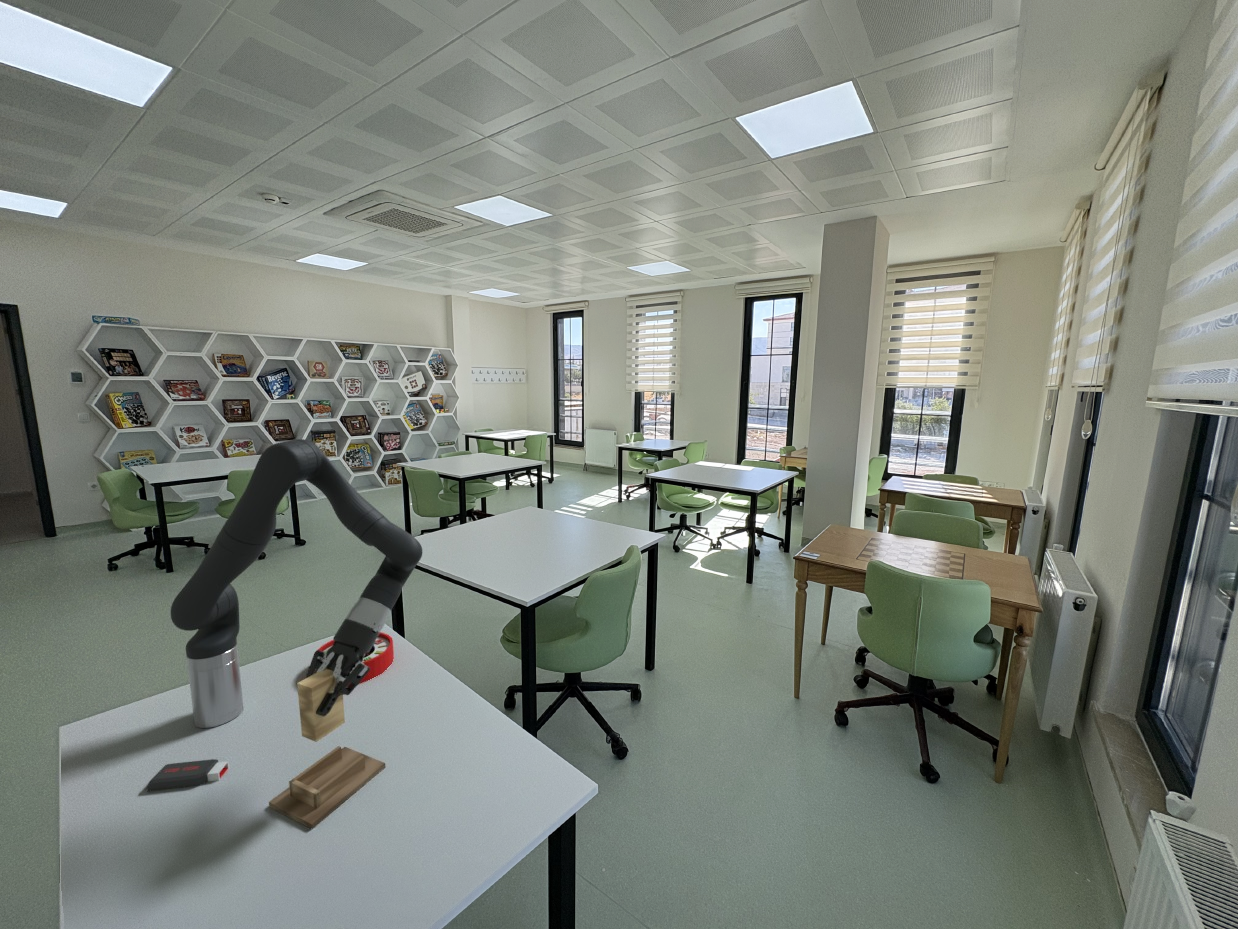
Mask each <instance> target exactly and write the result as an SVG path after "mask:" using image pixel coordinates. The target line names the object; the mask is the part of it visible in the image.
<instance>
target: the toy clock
mask: <svg viewBox="0 0 1238 929" xmlns="http://www.w3.org/2000/svg"><path fill="white" fill-rule="evenodd" d="M333 644H334V640H333V639H332V640H330V641H328V642H326V643H324V644H322V645H321V646H320V647H319V648H318V649H317V650H320V651H322V652H324V651H328V649H329V648H331V647H332V646H333ZM394 653H395V652H394V639H393V637H392V636H391V635H389V634H387V633H385V632H380V633H379V635H378V637H377V639H376V641H375V642H374V644H373V646H372V648H371V649H370V651H369V652H368V653H365V654H364V657H363V661H362V662H363V663H364V665H366V666H368V667H370V671H369V672H368V673H367V674H366V676H365V677H364V678H363V679H362V680H361V681H360V683H359V684H358V685H360V684H363V683H365V682H369V681H371V680H373V679H372V678H374V677H376V676H377V677H379V676H381V675H383V674H384V673H385V672H386V671H385V670H387V668H388V667H389V666H390V665H391V664H392V662H393V663H394V661H393V659H395V656H394ZM392 665H393V664H392ZM392 665H391V666H392ZM384 671H385V672H384ZM387 671H388V670H387ZM315 672H316V671H314V673H315ZM383 672H384V673H383ZM382 673H383V674H382ZM380 674H381V675H380ZM378 675H379V676H378ZM377 677H376V678H377ZM370 679H371V680H370ZM374 679H375V678H374ZM368 680H369V681H368ZM351 683H352V682H351ZM351 683H350V684H351ZM350 684H349V685H350ZM349 685H348V686H349ZM348 686H347V687H348Z"/></svg>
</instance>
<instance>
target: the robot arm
mask: <svg viewBox="0 0 1238 929" xmlns="http://www.w3.org/2000/svg"><path fill="white" fill-rule="evenodd" d="M302 481H307V482H308V483H309V484H311V485H313V486H314V487H316V488H317V489H318V490H319V491H320V492H321V493H322V494H323V495H324V496H325V497H326V499H327V500H328V502H329V503H330V505H331V508H332V509H333V512H334V514H335V515H336V517H337V518H338V520H339V522H340V523H341V524H342V525H343V526H344V527H345V528H346V529H347V530H348V531H349V532H351V533H352V534H353V535H354V537H357V539H359V540H360V541H361V542H363V543H364V544H365V545H367V546H369V547H374V548H375V549H377V550H378V552H380V553H382V554H383V555H384V558H383V559H382V562H381V563H380V565H379V567H378V569H377V570H376V573H375V575H374V576H373V577H372V578H371V579H370V580H369V582H368V583H367V584H366V586H365V588H364V590H362V593H361V594H360V596H359V597H358V599H357V601H356V602H355V603H354V604H353V606H352V607H351V608H350V610H349V612H348V613H347V615H346V616H345V618H344V619H343V622H342V623H341V625H340V627H339V628H338V629H337V631H336V632H335V634H334V636H333V637H332V638H333V639H332V640H334V644H333V646H332V647H331V648H329V649H328V651H324V652H322V651H320V650H318V649H316V651H314V652H313V656H312V659H311V662H310V664H309V667H308V669H307V673H306V675H305V678H304V679H306V678H308V677H310V676H311V675H313V674H315V673H317V672H319V671H324V670H326V669H329V670H332V671H334V672H333V675H334V677H333V682H332V684H331V686H330V688H329V693H326V695H325V697H324V698H323V700H322V702H321V704H320V705H319V707H318V709H317V710H316V714H318V715H321V716H326V715H327V714H328V713H329V712H330V710H331V709H332V707H333V705H334V703H335V702H336V700H337V698H338V697H339V696H341V695H343V696H349V695H350V694H352V692H353V691H354V689H355V688H356V687H357V686H358V685H360V684H361V683H360V681H361V680H362V679H363V678H364V677H365V676H366V674H367V673H368V672H369V671H370V667H368V666H366V665H364V663H363V662H362V661H363V657H364V654H365V653H368V652H369V651H370V649H371V648H372V646H373V644H374V642H375V641H376V639H377V637H378V635H379V633H380V632H381V631H382V630H383V629H384V627H385V625H386V623H387V620H388V618H389V616H390V613H391V611H392V610H393V609H394V608H393V607H395V605H396V603H397V601H398V598H399V597H400V595H401V593H402V590H403V587H404V586H405V584H406V582H407V581H408V579H409V578H410V576H411V575H412V572H414V569H415V568H416V566H417V565H418V563H419V562H420V561H421V558H422V557H423V547H422V544H421V542H419V541H418V539H416V537H415V536H413V535H412V534H411V533H409V532H408V531H406V530H404V529H402V527H400V526H398V525H397V524H395V523H393V522H391V521H390V520H389V519H388V518H387V517H386V516H385V515H383V513H381V512H380V511H379V510H378V509H377V508H375V506H373V505H372V504H371V503H370V502H369V501H367V500H366V499H365V498H364V497H363V496H362V495H361V494H360V493H359V492H358V491H357V489H355V487H353V485H352V484H351V483H350V482H349V481H348V480H347V478H345V476H343V474H342V473H341V472H340V471H339V469H338V468H337V467H336V466H335V465H334V464H333V462H332V461H331V460H330V458H329V457H328V456H327V455H326V454H325V453H324V451H322V449H321V448H320V447H318V445H316V444H315V443H314V442H312V441H310V440H308V439H302V438H298V439H290V440H286V441H281V442H278V443H277V442H276V443H273V444H271V445H270V446H268V447H267V448H265V449H264V450H263V451H262V453H261V455H260V456H259V459H258V461H257V462H256V465H255V468H254V470H253V472H252V474H251V477H250V479H249V481H248V484H247V486H246V488H245V490H244V492H243V493H242V495H241V496H240V497H239V500H238V502H237V503H236V505H235V507H234V508H233V510H232V512H231V514H230V515H229V516H228V518H227V520H226V521H225V522H224V524H223V525H222V527H221V530H220V531H219V532H218V534H217V536H216V537H215V539H214V542H213V543H212V545H211V546H210V548H209V550H208V551H207V553H206V554H205V556H204V558H203V560H202V561H201V563H200V564H199V566H198V568H197V570H196V571H195V572H194V573H193V575H192V576H191V577H190V579H189V580H188V581H187V582H186V584H185V585H184V586H183V587H182V589H181V590H180V591H179V593H178V594H177V595H176V596H175V597H174V600H173V602H172V603H171V606H170V619H171V622H172V623H173V625H174V626H175V627H176V628H178V629H179V630H182V631H187V632H191V631H196V633H195V634H194V635H193V636H192V637H191V638H189V640H188V641H187V643H186V645H185V653H186V654H185V655H186V664H187V665H186V666H187V671H188V679H189V689H190V696H191V705H192V706H191V707H192V713H193V714H192V715H193V722H194V726H195V727H197V728H201V729H209V728H214V727H218V726H221V725H224V724H226V723H228V722H230V721H233V720H234V719H236V718H237V717H238V716H240V714H241V713H243V711H244V702H243V691H242V690H243V689H242V681H241V672H240V671H241V670H240V658H239V652H238V643H237V642H238V641H237V640H238V638H237V637H238V636H239V632H240V628H241V627H240V606H239V605H240V603H239V597H238V594H237V591H236V589H235V587H234V586H233V585H232V584H231V583H232V582H234V581H235V580H236V579H237V578H238V577H239V576H240V575H241V574H243V573H244V572H245V571H246V570H247V569H248V568H250V566H251V565H253V563H255V561H257V560H258V558H259V557H260V556H261V555H262V553H263V552H264V550H265V549H266V548H267V546H268V544H269V543H270V541H271V540H272V539H273V536H274V534H275V532H276V528H277V510H278V507H279V505H280V503H281V502H282V500H283V499H284V497H285V496H286V494H287V493H288V492H289V490H290V489H291V488H292V487H293V486H294V485H295V484H297V483H299V482H302ZM315 671H316V672H315ZM340 675H341V676H340ZM339 682H340V685H339V687H337V686H338V683H339ZM351 682H352V683H351ZM350 683H351V684H350ZM359 683H360V684H359ZM349 684H350V685H349ZM348 685H349V686H348Z"/></svg>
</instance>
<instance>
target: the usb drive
mask: <svg viewBox="0 0 1238 929" xmlns="http://www.w3.org/2000/svg"><path fill="white" fill-rule="evenodd" d="M229 768H230V763H229V761H219V760H218V758H216V759H213V758H211V759H202V760H191V761H184V762H183V761H182V762H176V763H175V762H173V763H166V764H165V765H164V766H162V768H161V769H160V770H158V772H156V774H155V775H154V776H153V777H152V778H151V779H150V780H149V782H148V783H147V785H146V791H147V792H148V793H149V792H157V791H165V790H167V791H168V790H174V789H184V788H191V787H198V786H202V785H204V784H205V785H206V784H207V783H209V782H215V781H216V782H217V781H220V779H221V778H222V777H223V776H224V774H225V773H226V772H228V770H229Z"/></svg>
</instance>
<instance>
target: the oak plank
mask: <svg viewBox="0 0 1238 929" xmlns="http://www.w3.org/2000/svg"><path fill="white" fill-rule="evenodd" d="M333 672H334V671H332V670H329V669H326V670H324V671H319V672H317V673H315V672H314V674H313V675H311V676H310V677H308V678H306V679H305V678H304V679H302V680H300V681H299V682H297V683H296V684H297V695H298V706H299V707H298V709H299V717H300V718H299V719H300V728H301V736H302V737H303V738H305V739H307V740H310V741H312V742H315V743H317V742H318V741H320V740H322V739H324V737H326V736H327V735H329V734H330V733H332V732H333V731H334V730H336V729H338V728H339V727H340V726H343V724H345V723H346V719H345V705H344V695H341V696H339V697H338V698H337V700H336V702H335V703H334V705H333V707H332V709H331V710H330V712H329V713H328V714H327V715H326V716H321V715H318V714H316V710H317V709H318V707H319V705H320V704H321V702H322V700H323V698H324V697H325V695H326V693H329V688H330V686H331V684H332V682H333V677H334V675H333ZM340 676H341V675H340ZM339 685H340V682H339V683H338V686H337V687H339Z"/></svg>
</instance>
